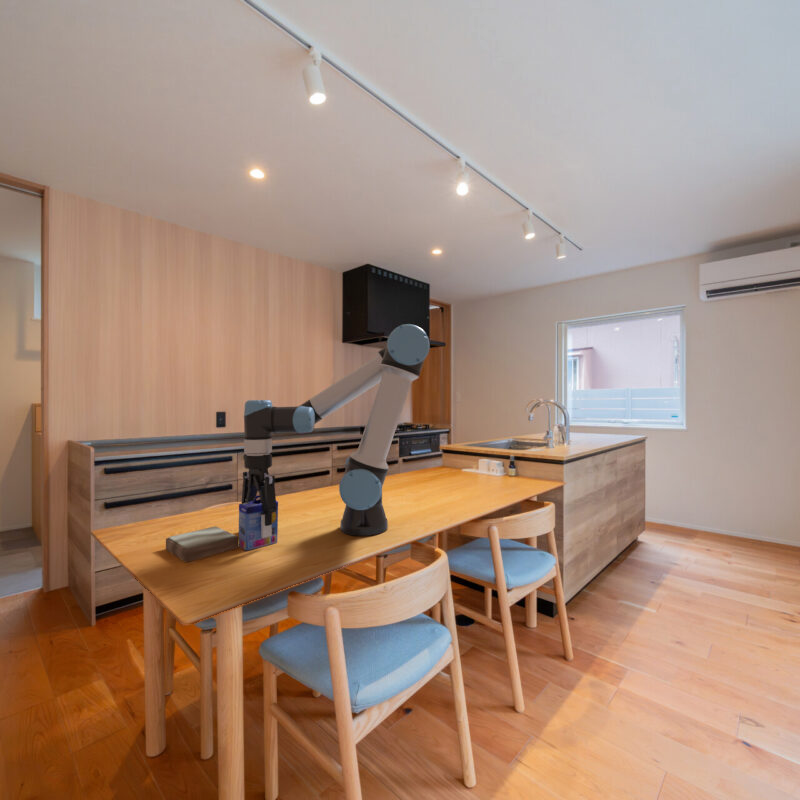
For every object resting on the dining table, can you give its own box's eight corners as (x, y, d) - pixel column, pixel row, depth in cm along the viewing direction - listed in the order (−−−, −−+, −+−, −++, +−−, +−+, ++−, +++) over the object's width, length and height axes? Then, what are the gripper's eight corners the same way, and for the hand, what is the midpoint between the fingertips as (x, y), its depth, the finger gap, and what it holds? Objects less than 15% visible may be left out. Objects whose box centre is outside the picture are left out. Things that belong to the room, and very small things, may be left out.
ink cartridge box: (246, 551, 111) (246, 498, 111) (237, 546, 115) (237, 495, 115) (279, 542, 119) (279, 492, 119) (269, 538, 122) (269, 489, 122)
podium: (238, 547, 115) (238, 535, 115) (185, 562, 104) (185, 549, 104) (216, 536, 124) (216, 525, 124) (165, 549, 113) (165, 537, 113)
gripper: (290, 455, 113) (290, 537, 113) (252, 449, 127) (252, 523, 127) (265, 458, 107) (265, 545, 107) (228, 452, 121) (228, 528, 121)
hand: (258, 533), depth 117 cm, fingers open, 8 cm apart
